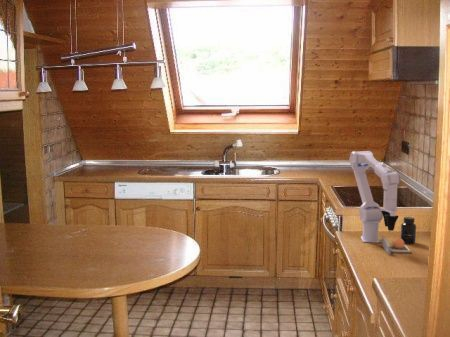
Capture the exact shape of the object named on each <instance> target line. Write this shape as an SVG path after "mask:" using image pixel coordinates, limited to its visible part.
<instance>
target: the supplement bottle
mask: <svg viewBox="0 0 450 337" xmlns="http://www.w3.org/2000/svg"><path fill="white" fill-rule="evenodd" d="M416 237H417V224H416V223H415V217H411V216H404V217H403V222H402V223H401V224H400V237H399V238H401V239H402V240H403V241H404V243H405V245H414V244H416V240H417V239H416Z"/></svg>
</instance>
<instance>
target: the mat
mask: <svg viewBox="0 0 450 337" xmlns="http://www.w3.org/2000/svg"><path fill="white" fill-rule="evenodd" d="M390 246H391V254H401V255H402V254H405V255H407V254H408V255H412V251H411V250H410V249H409V247H408V246H407V244H405V245H404V247H403V248H402V249H396V248H395V247H394V246H393V244H390Z"/></svg>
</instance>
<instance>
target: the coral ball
mask: <svg viewBox="0 0 450 337" xmlns="http://www.w3.org/2000/svg"><path fill="white" fill-rule="evenodd" d="M392 245H393V246H394V247H395V248H396V249H402V248H403V247H404V245H406V244H405V243H404V241H403V240H402V239H401V238H400V237H397V238H395V239H393V241H392Z"/></svg>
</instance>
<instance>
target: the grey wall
mask: <svg viewBox="0 0 450 337" xmlns="http://www.w3.org/2000/svg"><path fill="white" fill-rule="evenodd" d="M390 245H391V244H390V243H389V241H388V240H387V238H386V237H385V236H384V235H383V236H382V235H381V246H382V247H383V249H384V250H385V253H386V254H387V255H389V256H390V255H391V254H392V253H391V246H390Z"/></svg>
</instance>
